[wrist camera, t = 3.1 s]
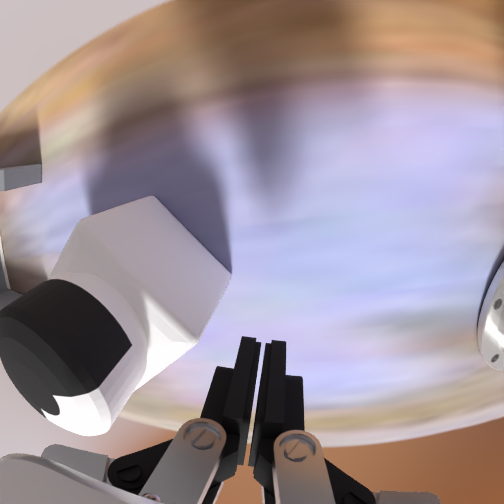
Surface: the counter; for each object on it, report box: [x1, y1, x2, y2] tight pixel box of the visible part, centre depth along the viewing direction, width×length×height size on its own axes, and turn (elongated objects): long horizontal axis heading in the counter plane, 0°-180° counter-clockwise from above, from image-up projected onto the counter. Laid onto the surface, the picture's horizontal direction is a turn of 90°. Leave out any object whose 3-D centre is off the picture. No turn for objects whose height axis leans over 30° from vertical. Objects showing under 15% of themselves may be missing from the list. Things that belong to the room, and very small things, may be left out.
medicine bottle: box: [0, 196, 231, 436], centre depth 13 cm, size 7×7×12 cm
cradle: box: [0, 164, 42, 310], centre depth 18 cm, size 10×14×4 cm
